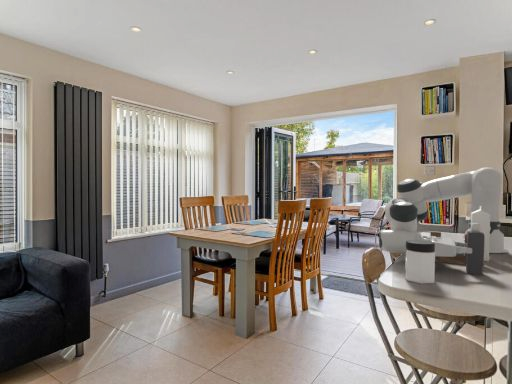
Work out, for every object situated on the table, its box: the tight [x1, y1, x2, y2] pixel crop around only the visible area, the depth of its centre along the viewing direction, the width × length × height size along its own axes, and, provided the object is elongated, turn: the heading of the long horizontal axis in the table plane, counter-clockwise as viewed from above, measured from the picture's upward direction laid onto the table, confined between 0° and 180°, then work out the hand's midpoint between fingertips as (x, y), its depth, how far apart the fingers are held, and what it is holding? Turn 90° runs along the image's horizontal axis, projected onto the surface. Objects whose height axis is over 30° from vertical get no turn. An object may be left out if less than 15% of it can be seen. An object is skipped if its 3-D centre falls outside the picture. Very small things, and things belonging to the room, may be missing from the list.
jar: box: [404, 240, 436, 285], centre depth 100 cm, size 9×8×12 cm
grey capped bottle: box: [465, 223, 484, 276], centre depth 110 cm, size 4×4×17 cm
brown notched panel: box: [423, 230, 485, 268], centre depth 125 cm, size 2×20×12 cm, turn 61°
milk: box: [470, 206, 490, 262], centre depth 132 cm, size 6×6×22 cm
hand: (470, 248), depth 110 cm, fingers open, 8 cm apart
